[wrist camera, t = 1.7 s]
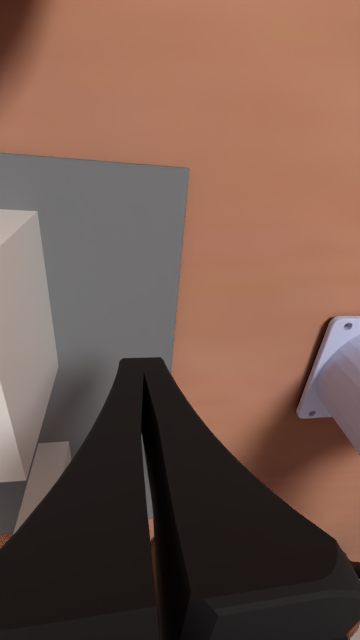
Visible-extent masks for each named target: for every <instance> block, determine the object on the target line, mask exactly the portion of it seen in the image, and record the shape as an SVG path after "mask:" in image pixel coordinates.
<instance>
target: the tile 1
mask: <svg viewBox="0 0 360 640" xmlns="http://www.w3.org/2000/svg"><path fill="white" fill-rule="evenodd" d="M58 366H59V365H58V358H57V351H56V343H55V336H54V329H53V322H52V314H51V307H50V300H49V292H48V285H47V278H46V270H45V263H44V256H43V249H42V241H41V234H40V227H39V219H38V212H37V211H24V210H5V209H0V482H13V481H25V480H27V476H28V473H29V469H30V465H31V462H32V458H33V455H34V451H35V448H36V444H37V441H38V437H39V434H40V430H41V427H42V423H43V419H44V416H45V412H46V409H47V405H48V402H49V398H50V395H51V391H52V388H53V384H54V381H55V377H56V374H57V370H58Z"/></svg>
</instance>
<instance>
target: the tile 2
mask: <svg viewBox="0 0 360 640" xmlns="http://www.w3.org/2000/svg"><path fill="white" fill-rule="evenodd" d="M70 462H71V453H70V446H69V441H65V442H49V443H38V447H37V450H36V453H35V456H34V460H33V463H32V467H31V470H30V474H29V478H28V481H27V485H26V488H25V492H24V496H23V499H22V503H21V506H20V510H19V513H18V517H17V521H16V524H15V528H14V531H13V535H14V533H15V532H16V531H17V530H18V529H19V528H20V526H21V525H22V524H23V523H24V521H25V520H26V519H27V518H28V517H29V515H30V514H31V513H32V512H33V511H34V509H35V508H36V507H37V506H38V504H39V503H40V502H41V501H42V500H43V498H44V497H45V496H46V495H47V493H48V492H49V491H50V489H51V488H52V487H53V486H54V484H55V483H56V482H57V480H58V479H59V477H60V476H61V475H62V473H63V472H64V470H65V469H66V468H67V466H68V465H69V463H70ZM13 535H12V536H13Z"/></svg>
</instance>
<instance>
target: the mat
mask: <svg viewBox="0 0 360 640" xmlns="http://www.w3.org/2000/svg"><path fill="white" fill-rule="evenodd" d="M188 179H189V168H183V167H170V166H158V165H146V164H133V163H121V162H108V161H96V160H83V159H71V158H59V157H46V156H34V155H21V154H9V153H0V209H5V210H24V211H37V212H38V219H39V227H40V234H41V241H42V249H43V256H44V263H45V270H46V278H47V285H48V292H49V300H50V307H51V314H52V322H53V329H54V336H55V343H56V351H57V358H58V365H59V366H58V370H57V374H56V377H55V381H54V384H53V388H52V391H51V395H50V398H49V402H48V405H47V409H46V412H45V416H44V419H43V423H42V427H41V430H40V434H39V437H38V441H37V444H36V448H35V451H34V455H33V458H32V462H31V465H30V469H29V473H28V476H27V480H25V481H13V482H0V535H3V534H12V533H13V531H14V528H15V524H16V521H17V517H18V513H19V510H20V506H21V503H22V499H23V496H24V492H25V488H26V485H27V481H28V478H29V474H30V470H31V467H32V463H33V460H34V456H35V453H36V450H37V447H38V443H49V442H65V441H69V446H70V453H71V460H72V459H73V457H74V456H75V454H76V453H77V451H78V450H79V448H80V447H81V445H82V444H83V442H84V440H85V439H86V437H87V435H88V434H89V432H90V430H91V428H92V427H93V425H94V423H95V421H96V419H97V417H98V415H99V413H100V412H101V410H102V408H103V406H104V404H105V401H106V399H107V397H108V395H109V392H110V390H111V388H112V385H113V383H114V380H115V377H116V374H117V371H118V367H119V361H120V360H121V359H122V358H148V357H161V358H162V359H163V360H164V362H165V364H166V366H167V368H168V370H169V372H170V374H171V367H172V356H173V345H174V334H175V323H176V312H177V301H178V290H179V278H180V267H181V256H182V245H183V234H184V223H185V212H186V201H187V190H188ZM141 441H142V454H143V467H144V479H145V491H146V502H147V513H148V519H153V509H152V500H151V493H150V486H149V479H148V472H147V466H146V459H145V452H144V445H143V438H142V436H141Z"/></svg>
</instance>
